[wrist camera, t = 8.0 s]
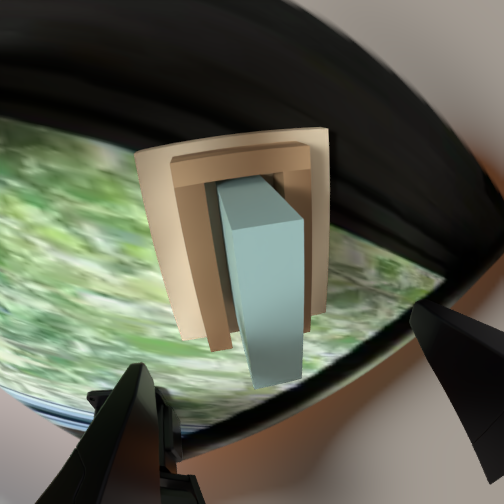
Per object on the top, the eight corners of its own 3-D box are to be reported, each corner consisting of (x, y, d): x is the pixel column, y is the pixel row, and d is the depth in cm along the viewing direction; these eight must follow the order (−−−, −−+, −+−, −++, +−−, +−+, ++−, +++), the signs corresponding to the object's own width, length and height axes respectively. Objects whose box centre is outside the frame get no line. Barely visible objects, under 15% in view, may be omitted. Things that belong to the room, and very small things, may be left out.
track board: (182, 330, 18) (183, 362, 15) (137, 150, 13) (125, 160, 10) (319, 303, 19) (336, 330, 17) (319, 127, 14) (345, 132, 11)
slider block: (233, 303, 16) (254, 389, 11) (214, 179, 13) (231, 230, 8) (268, 297, 17) (301, 378, 11) (258, 173, 13) (303, 218, 8)
